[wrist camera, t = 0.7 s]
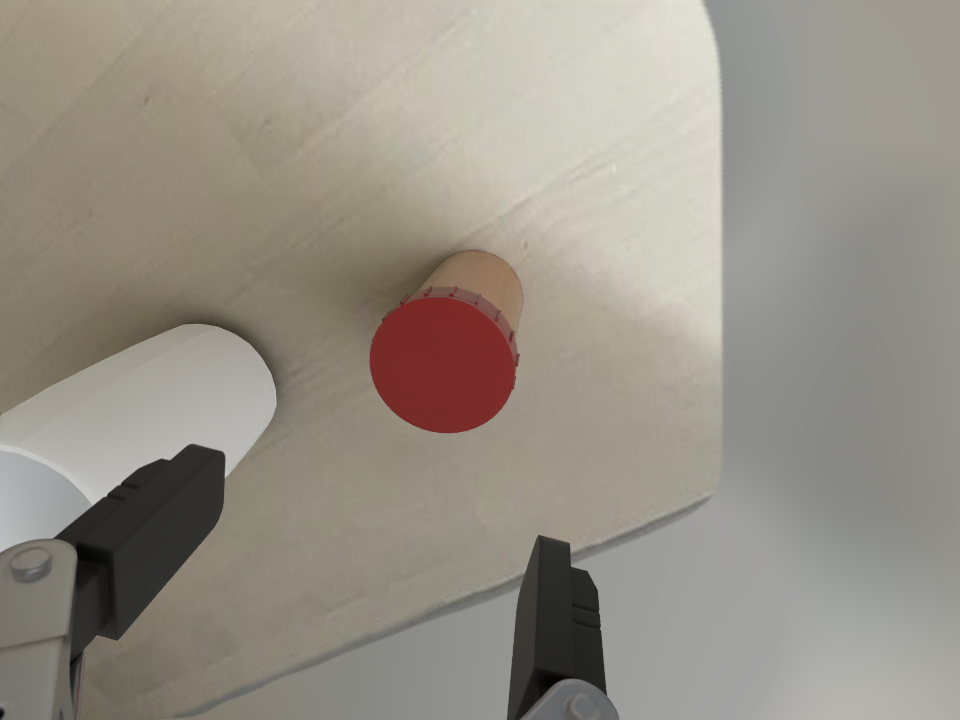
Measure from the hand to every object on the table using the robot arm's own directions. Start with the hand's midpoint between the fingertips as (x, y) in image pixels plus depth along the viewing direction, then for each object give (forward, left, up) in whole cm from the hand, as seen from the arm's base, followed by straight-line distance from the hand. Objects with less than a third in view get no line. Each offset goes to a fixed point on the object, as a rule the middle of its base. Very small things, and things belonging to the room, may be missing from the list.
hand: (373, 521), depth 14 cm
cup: (+13, -10, -19) cm, 25 cm away
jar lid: (0, 0, -9) cm, 9 cm away
